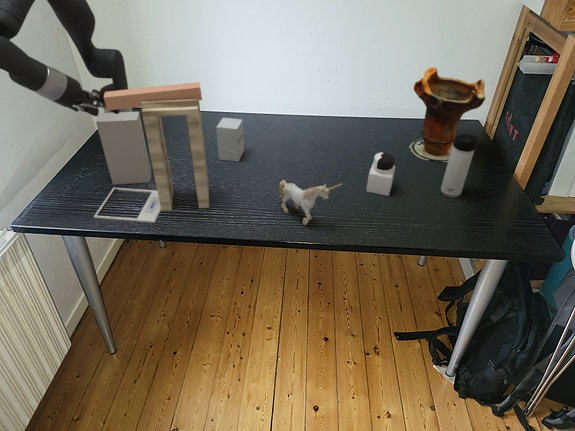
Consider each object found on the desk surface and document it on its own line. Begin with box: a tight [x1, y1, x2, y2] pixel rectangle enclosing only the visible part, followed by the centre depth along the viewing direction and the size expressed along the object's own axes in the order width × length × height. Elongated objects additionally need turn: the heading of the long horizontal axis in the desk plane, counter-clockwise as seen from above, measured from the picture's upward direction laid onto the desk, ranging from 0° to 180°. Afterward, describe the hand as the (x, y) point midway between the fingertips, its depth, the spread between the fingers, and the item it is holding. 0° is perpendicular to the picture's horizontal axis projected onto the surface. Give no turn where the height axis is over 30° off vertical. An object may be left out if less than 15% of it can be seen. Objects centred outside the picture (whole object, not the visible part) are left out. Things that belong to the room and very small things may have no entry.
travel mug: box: [440, 133, 478, 199], centre depth 140 cm, size 6×7×20 cm
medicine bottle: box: [365, 151, 396, 197], centre depth 143 cm, size 7×7×12 cm
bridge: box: [141, 99, 210, 212], centre depth 130 cm, size 10×14×34 cm
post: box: [95, 111, 152, 185], centre depth 142 cm, size 6×12×22 cm, turn 98°
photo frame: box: [93, 187, 161, 224], centre depth 138 cm, size 15×1×18 cm
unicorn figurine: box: [278, 179, 343, 226], centre depth 131 cm, size 7×20×13 cm, turn 62°
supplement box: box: [215, 117, 245, 163], centre depth 157 cm, size 7×7×13 cm
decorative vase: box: [408, 67, 486, 163], centre depth 158 cm, size 21×23×28 cm
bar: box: [104, 81, 203, 110], centre depth 119 cm, size 4×24×4 cm, turn 101°
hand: (107, 112), depth 128 cm, fingers open, 8 cm apart
